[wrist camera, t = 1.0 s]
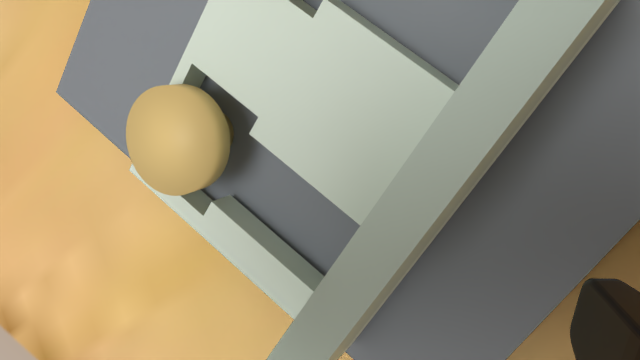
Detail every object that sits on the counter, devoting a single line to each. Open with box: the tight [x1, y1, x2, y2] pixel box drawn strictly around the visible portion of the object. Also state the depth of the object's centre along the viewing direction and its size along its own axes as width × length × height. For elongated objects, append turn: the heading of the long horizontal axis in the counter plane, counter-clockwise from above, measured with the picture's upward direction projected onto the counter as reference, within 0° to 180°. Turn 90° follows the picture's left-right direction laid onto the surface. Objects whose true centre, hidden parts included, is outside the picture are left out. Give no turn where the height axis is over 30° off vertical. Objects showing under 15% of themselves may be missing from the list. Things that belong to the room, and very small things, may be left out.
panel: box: [129, 0, 620, 360], centre depth 15 cm, size 9×12×4 cm
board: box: [56, 0, 640, 360], centre depth 17 cm, size 18×13×4 cm
